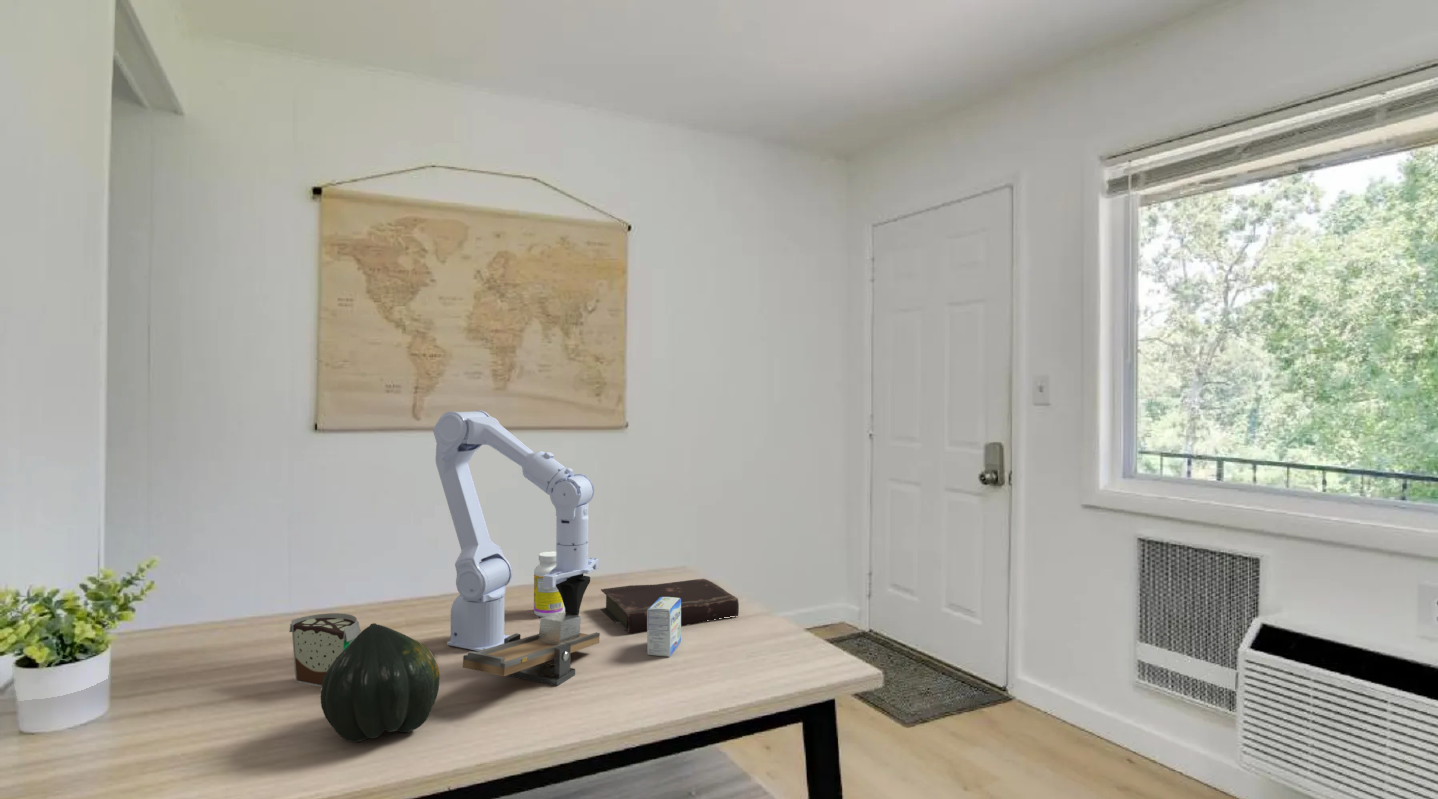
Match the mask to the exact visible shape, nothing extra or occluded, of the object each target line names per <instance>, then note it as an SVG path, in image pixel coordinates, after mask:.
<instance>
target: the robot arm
mask: <svg viewBox="0 0 1438 799" xmlns="http://www.w3.org/2000/svg"><path fill="white" fill-rule="evenodd" d="M432 432H433V436H434V439H435V442H436V448H435V465H436V468H437V472H438V475H439V479H440V482H441V485H442V486H441V487H442V489H443V493H444V496H445V499H446V502H447V506H448V509H449V513H450V516H451V519H452V522H453V526H454V529H455V533H456V536H457V537H456V538H457V540H458V543H459V547H460V550H461V551H460V553H459V556H458V557H457V558H456V560H455V563H454V567H455V571H456V577H455V578H456V579H455V586H456V590H457V592H458V593H459V595H458V596H457V597H456V598H455V599H454V600H453V602H452V605H451V607H450V608H451V609H450V640H449V641H447V643H446V645H447V646H451V647H455V648H461V649H466V650H471V651H474V652H477V651H481V650H484V649H488V648H491V647H495V646H498V645H502V644H504V639H505V638H507V637H509V636H510V635H507V634H505V598H506V597H505V593H506V591H507V589H506V588H507V586H508V585H509V583H510V582H511V580H512V578H513V569H512V565H511V563H510V562H509V560H508V559H507V558H506V557H505V556H504V553H503V550H502V548H501V547H500V546H499V545H497V544H496V543H495V542H493V541H492V540H491V536H490V533H489V530H488V527H487V522H486V520H485V516H484V512H483V509H482V506H481V503H480V500H479V499H480V498H479V496H478V492H477V489H476V486H475V483H474V479H473V476H472V472H471V469H470V466H469V462H470V460H471V459H472V457H473V456H474V455H475V452H477V451H478V450H479V449H480V448H481V447H482V446H483V445H484V446H485V445H487V446H489V447H491V448H493V449H494V450H495V451H497V452H499V453H500V454H501V455H503V456H505V457H506V458H508V459H509V460H510V461H513V462H514V463H516V464H517V465H518V466H520V467H521V469H522V476H523V477H524V478H526V480H529V481H530V482H531V483H533V485H535V486H537V487H538V488H539V489H541V491H543V492H544V493H546V494H547V495H549V497H550V503H552V505H553V506H554V509H555V516H556V519H555V520H556V528H555V530H556V533H555V534H556V536H555V537H556V545H555V546H556V547H555V551H556V567H555V568H553V569H552V570H551V571H550V572H549V573H548V574H546V575H544V576H543V587H550V588H553V587H555V586H556V587H557V589H558V591H559V593H560V595H561V597H562V600H563V603H564V607H565V612H564V613H566V614H572V615H578V616H580V608H581V606H582V601H583V598H584V595H585V593H586V590H587V588H588V586H589V585H590V583H591V577H590V576H588V575H586V574H590V573H593V572H594V570H598V569H599V568H600V566H599V565H600V563H599V562H600V560H599V558H596V557H589V531H590V530H589V520H590V519H589V517H590V516H589V506H590V505H589V503H590V502H592V500H593V498H594V493H595V486H594V484H593V482H592V480H591V479H589V477H588V476H587V475H586V474H583V473H574V469H572V468H571V467H566V466H565V465H563V464H562V463H560V462H559V461H558V460H557V459H555V458H554V457H555V455H554V454H553V453H552V452H551V451H546V452H545V451H544V450H543V451H542V450H541V451H533V450H532V449H531V448H529V447H528V446H527V445H525V443H523V442H522V441H521V440H520V439H518V437H516V436H515V435H513V433H511V432H510V431H509V430H507V428H505V427H504V426H503V425H502V424H501V423H500V422H499V420H498V419H497V418H495V417H493V416H491V415H490V414H489V413H488V412H486V411H484V410H481V409H480V410H478V409H477V410H474V411H453V410H451V411H447V412H445V413H443V414H442V415H441V416H440V417H439V419H438V420H437V422H436V424H435V425H434V427H433V428H432ZM584 574H585V575H584Z"/></svg>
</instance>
